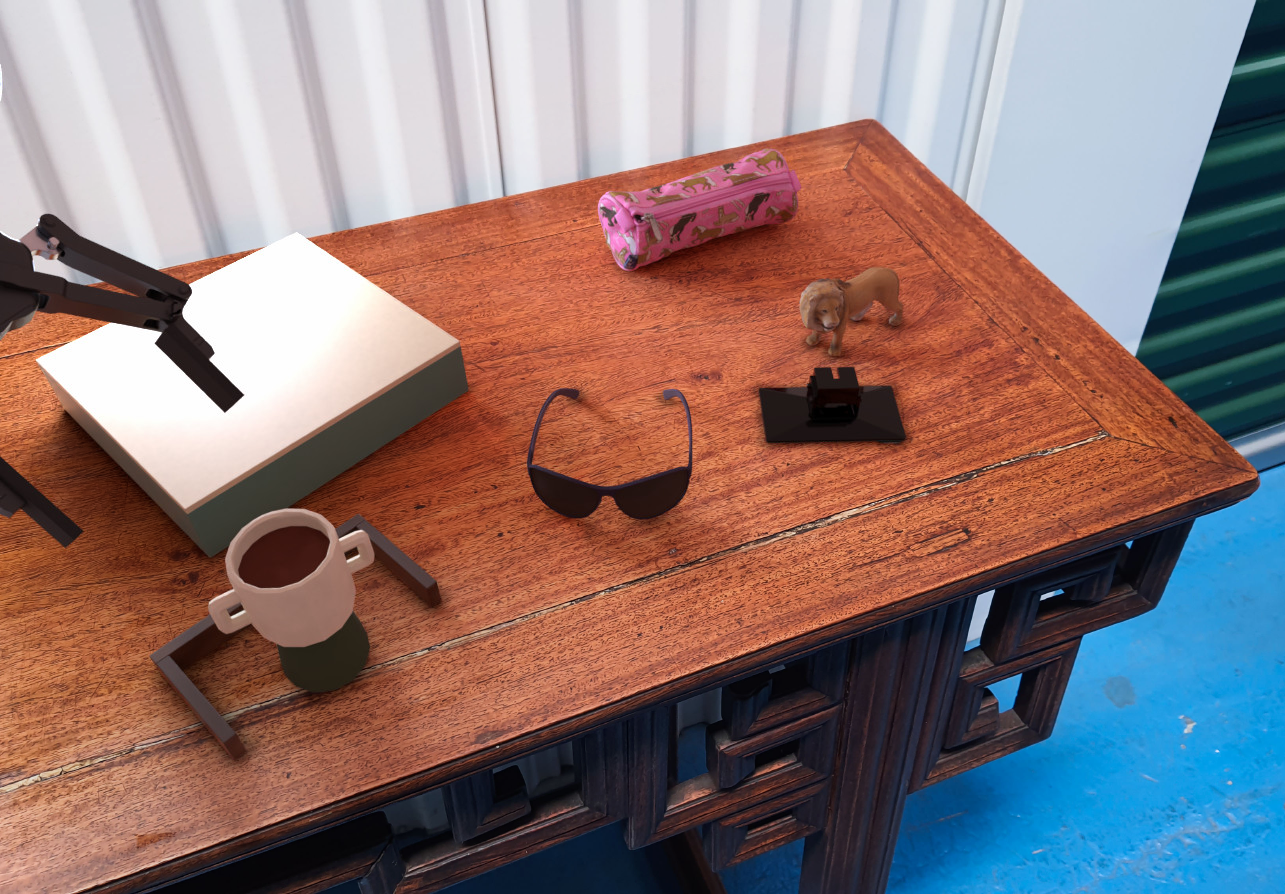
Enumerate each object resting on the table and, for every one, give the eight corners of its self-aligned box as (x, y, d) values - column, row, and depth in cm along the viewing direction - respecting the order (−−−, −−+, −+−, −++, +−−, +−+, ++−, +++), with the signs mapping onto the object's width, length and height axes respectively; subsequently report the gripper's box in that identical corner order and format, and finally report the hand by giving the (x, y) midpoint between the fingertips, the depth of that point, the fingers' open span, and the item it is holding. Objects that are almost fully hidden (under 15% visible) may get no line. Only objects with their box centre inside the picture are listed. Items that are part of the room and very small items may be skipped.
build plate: (890, 389, 93) (899, 350, 90) (906, 444, 88) (916, 406, 85) (758, 390, 93) (762, 352, 89) (766, 445, 88) (771, 407, 84)
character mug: (378, 592, 77) (339, 479, 68) (417, 657, 73) (382, 546, 64) (240, 662, 73) (178, 551, 63) (274, 735, 69) (213, 628, 59)
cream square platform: (210, 558, 80) (184, 509, 75) (63, 408, 92) (34, 359, 88) (469, 390, 93) (460, 340, 89) (311, 280, 106) (296, 232, 102)
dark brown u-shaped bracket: (234, 761, 67) (223, 743, 65) (161, 674, 72) (148, 655, 70) (442, 600, 76) (437, 581, 75) (364, 532, 81) (358, 512, 79)
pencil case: (630, 292, 104) (628, 218, 97) (593, 247, 110) (589, 175, 103) (803, 238, 110) (812, 166, 104) (759, 198, 116) (765, 128, 110)
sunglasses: (526, 523, 82) (520, 483, 78) (544, 394, 93) (540, 353, 89) (692, 526, 81) (693, 485, 78) (690, 395, 92) (691, 354, 89)
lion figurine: (821, 383, 93) (832, 306, 87) (778, 356, 96) (787, 280, 90) (915, 316, 100) (932, 240, 94) (872, 292, 103) (887, 218, 97)
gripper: (50, 147, 70) (272, 373, 75) (-330, 353, 54) (-15, 617, 60) (71, 90, 64) (309, 339, 70) (-347, 302, 49) (3, 598, 54)
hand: (160, 468), depth 65 cm, fingers open, 13 cm apart
